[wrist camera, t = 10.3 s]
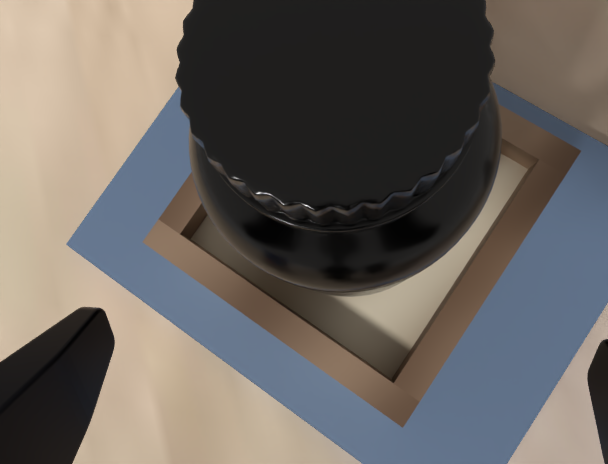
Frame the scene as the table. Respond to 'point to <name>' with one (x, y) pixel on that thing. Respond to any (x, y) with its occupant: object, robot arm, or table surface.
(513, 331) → the board
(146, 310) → the table surface
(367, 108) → the supplement bottle
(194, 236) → the foundation socket
